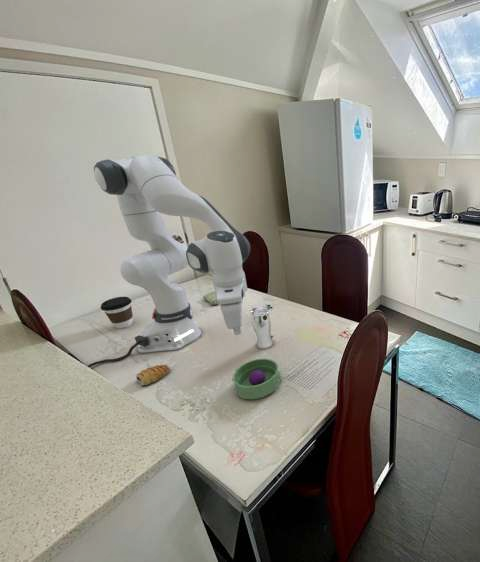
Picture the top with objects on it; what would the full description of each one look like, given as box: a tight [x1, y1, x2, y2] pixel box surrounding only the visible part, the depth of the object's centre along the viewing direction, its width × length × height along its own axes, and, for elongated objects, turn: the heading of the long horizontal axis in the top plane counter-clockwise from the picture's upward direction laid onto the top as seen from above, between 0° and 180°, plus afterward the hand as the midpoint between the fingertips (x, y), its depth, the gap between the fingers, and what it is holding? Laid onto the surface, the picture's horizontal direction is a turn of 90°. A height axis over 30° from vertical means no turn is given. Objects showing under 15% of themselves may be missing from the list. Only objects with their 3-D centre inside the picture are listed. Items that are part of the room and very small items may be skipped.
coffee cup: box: [100, 296, 134, 329], centre depth 139 cm, size 11×11×12 cm
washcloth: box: [202, 290, 218, 306], centre depth 166 cm, size 13×18×3 cm
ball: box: [249, 370, 265, 386], centre depth 104 cm, size 5×5×5 cm
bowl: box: [232, 358, 281, 400], centre depth 104 cm, size 14×14×6 cm
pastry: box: [135, 364, 170, 386], centre depth 108 cm, size 9×7×4 cm
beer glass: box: [250, 307, 274, 349], centre depth 124 cm, size 7×7×15 cm
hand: (238, 325), depth 98 cm, fingers open, 8 cm apart
